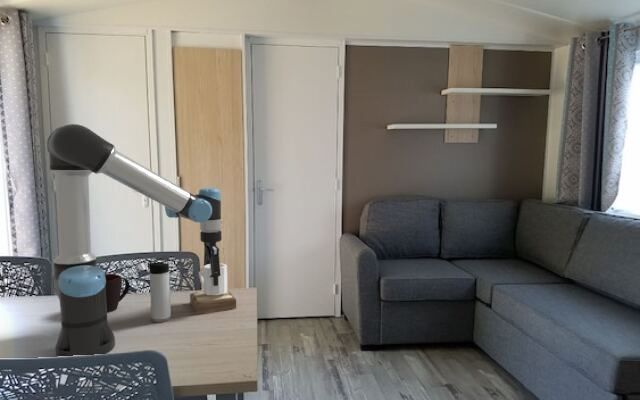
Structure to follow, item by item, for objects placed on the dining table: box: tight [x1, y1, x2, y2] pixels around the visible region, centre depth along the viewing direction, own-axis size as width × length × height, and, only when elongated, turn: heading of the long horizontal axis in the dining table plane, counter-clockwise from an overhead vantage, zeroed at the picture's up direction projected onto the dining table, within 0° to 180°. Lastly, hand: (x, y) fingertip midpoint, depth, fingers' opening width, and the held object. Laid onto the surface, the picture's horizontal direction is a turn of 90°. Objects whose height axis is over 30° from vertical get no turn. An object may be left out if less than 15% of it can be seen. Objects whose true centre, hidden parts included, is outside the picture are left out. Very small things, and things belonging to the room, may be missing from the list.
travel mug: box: [148, 262, 172, 324], centre depth 149 cm, size 6×7×20 cm
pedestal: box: [189, 289, 237, 316], centre depth 163 cm, size 14×14×4 cm
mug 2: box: [198, 262, 228, 295], centre depth 163 cm, size 12×9×10 cm
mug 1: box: [105, 273, 130, 314], centre depth 160 cm, size 10×14×12 cm
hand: (212, 289), depth 163 cm, fingers closed on mug 2, 9 cm apart
